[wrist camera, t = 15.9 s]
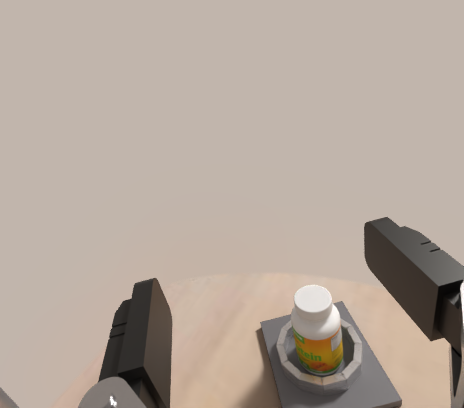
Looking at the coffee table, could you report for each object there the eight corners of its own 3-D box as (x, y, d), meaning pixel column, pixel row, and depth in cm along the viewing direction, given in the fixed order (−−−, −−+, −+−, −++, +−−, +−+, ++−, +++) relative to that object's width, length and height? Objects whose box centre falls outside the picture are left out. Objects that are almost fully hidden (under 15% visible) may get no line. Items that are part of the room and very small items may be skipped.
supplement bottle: (289, 361, 38) (277, 304, 34) (311, 330, 41) (303, 274, 37) (330, 386, 34) (323, 326, 30) (351, 349, 38) (347, 290, 33)
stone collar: (292, 404, 34) (290, 393, 33) (272, 332, 42) (269, 322, 41) (378, 382, 34) (378, 370, 33) (340, 315, 42) (339, 304, 41)
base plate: (289, 434, 32) (287, 429, 32) (261, 327, 45) (260, 322, 44) (401, 405, 32) (401, 399, 32) (342, 306, 45) (342, 301, 44)
